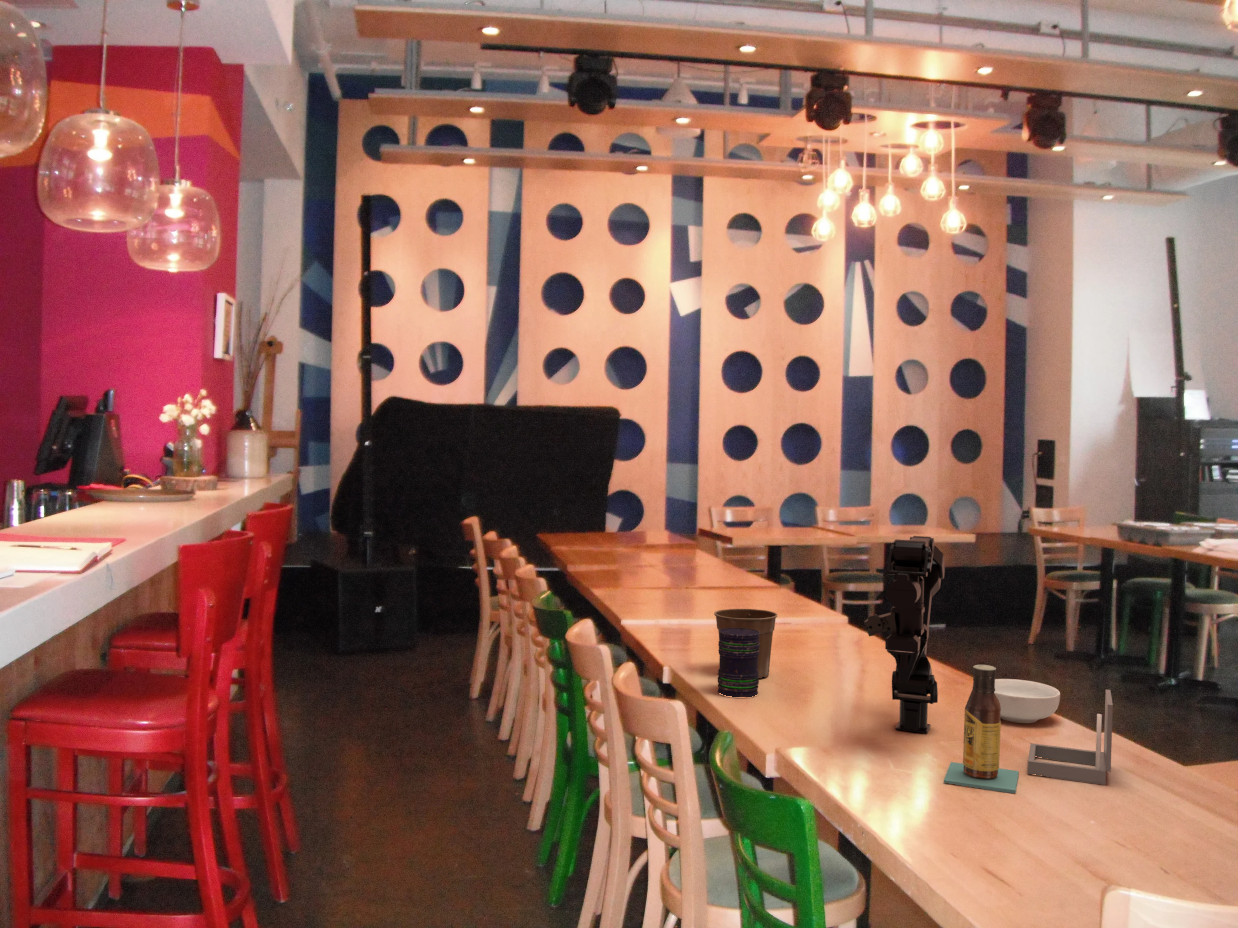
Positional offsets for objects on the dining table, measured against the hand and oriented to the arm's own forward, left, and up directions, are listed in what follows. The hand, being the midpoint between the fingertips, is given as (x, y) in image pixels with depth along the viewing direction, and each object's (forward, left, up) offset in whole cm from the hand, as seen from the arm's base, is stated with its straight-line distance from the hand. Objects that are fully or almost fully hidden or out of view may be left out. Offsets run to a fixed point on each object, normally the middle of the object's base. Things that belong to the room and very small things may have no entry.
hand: (906, 679), depth 211 cm
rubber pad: (+17, +16, -13) cm, 27 cm away
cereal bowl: (-32, +20, -13) cm, 40 cm away
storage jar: (-25, -43, -13) cm, 51 cm away
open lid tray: (+4, +30, -13) cm, 33 cm away
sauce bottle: (+17, +16, -13) cm, 26 cm away
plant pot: (-45, -47, -13) cm, 66 cm away
